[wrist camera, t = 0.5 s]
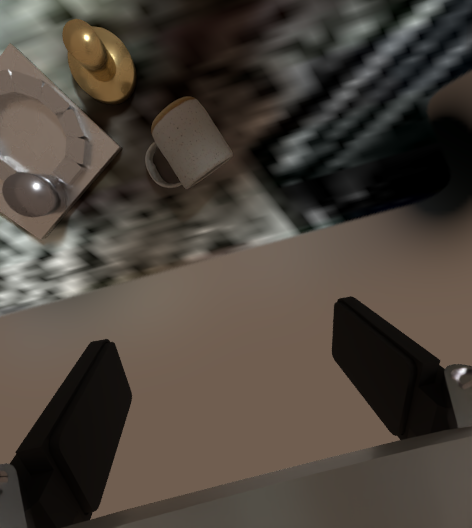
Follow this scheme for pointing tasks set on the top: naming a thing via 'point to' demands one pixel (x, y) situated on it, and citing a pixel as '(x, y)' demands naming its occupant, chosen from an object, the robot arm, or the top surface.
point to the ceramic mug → (187, 143)
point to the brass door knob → (99, 62)
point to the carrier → (44, 147)
